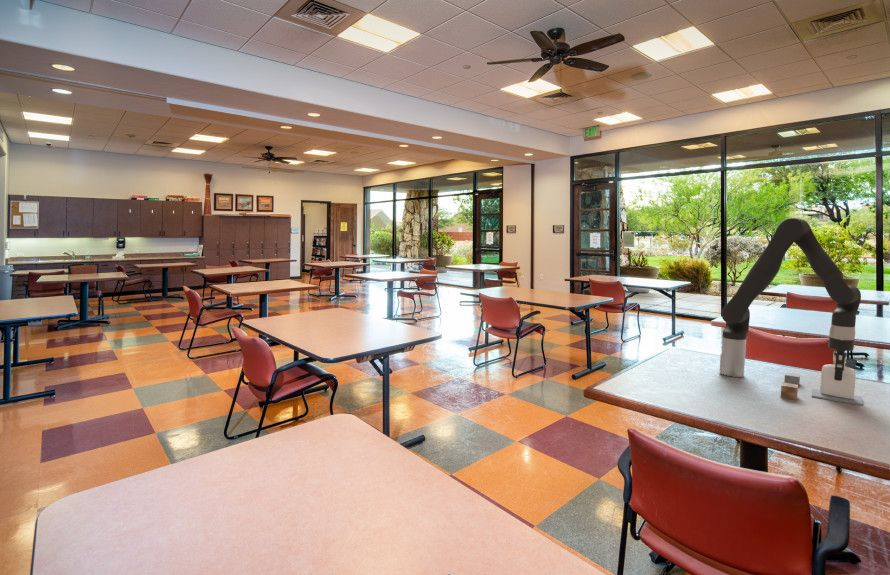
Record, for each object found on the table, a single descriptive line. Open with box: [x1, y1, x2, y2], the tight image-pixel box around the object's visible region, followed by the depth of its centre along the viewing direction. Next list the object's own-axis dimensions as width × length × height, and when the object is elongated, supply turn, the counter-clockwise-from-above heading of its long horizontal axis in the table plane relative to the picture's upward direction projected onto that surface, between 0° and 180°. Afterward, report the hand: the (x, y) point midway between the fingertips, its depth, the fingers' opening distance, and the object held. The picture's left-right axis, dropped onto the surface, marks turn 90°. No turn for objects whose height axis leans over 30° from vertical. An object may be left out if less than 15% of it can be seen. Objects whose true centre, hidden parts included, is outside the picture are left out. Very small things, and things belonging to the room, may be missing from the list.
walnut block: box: [780, 381, 799, 401], centre depth 181 cm, size 5×5×5 cm
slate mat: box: [811, 388, 864, 406], centre depth 180 cm, size 15×10×1 cm, turn 51°
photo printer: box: [819, 363, 857, 399], centre depth 179 cm, size 10×4×12 cm, turn 42°
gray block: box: [783, 372, 801, 387], centre depth 197 cm, size 5×4×4 cm
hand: (837, 377), depth 179 cm, fingers open, 8 cm apart
